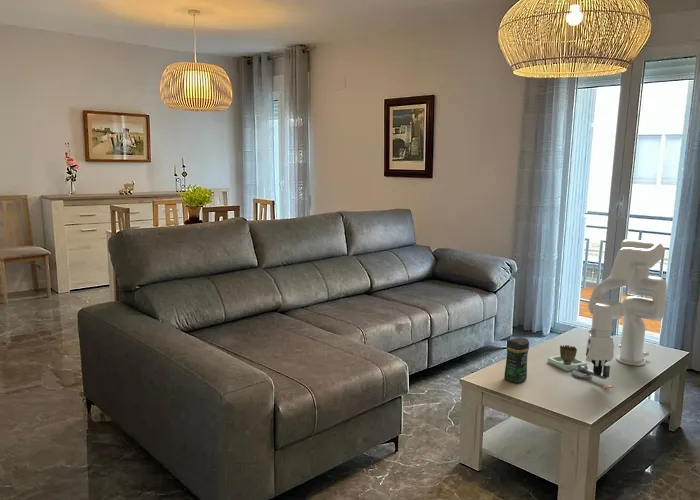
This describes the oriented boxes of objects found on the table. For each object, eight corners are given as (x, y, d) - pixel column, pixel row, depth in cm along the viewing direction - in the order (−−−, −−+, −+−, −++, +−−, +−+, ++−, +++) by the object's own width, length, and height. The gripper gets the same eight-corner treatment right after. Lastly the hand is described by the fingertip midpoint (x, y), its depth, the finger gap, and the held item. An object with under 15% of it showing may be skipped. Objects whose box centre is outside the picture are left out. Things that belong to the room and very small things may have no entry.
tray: (566, 359, 260) (567, 354, 260) (586, 368, 249) (587, 362, 249) (547, 362, 255) (547, 357, 255) (566, 371, 244) (567, 366, 244)
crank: (575, 369, 240) (576, 357, 239) (581, 368, 242) (582, 355, 242) (605, 380, 228) (606, 367, 227) (611, 378, 231) (612, 365, 230)
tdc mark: (610, 385, 229) (610, 385, 229) (612, 386, 228) (612, 386, 228) (601, 387, 227) (601, 386, 227) (604, 388, 226) (604, 387, 226)
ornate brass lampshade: (577, 367, 248) (578, 350, 247) (560, 366, 249) (561, 349, 248) (573, 361, 255) (575, 345, 254) (557, 360, 257) (558, 344, 255)
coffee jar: (517, 385, 228) (520, 343, 225) (501, 379, 234) (503, 338, 231) (530, 379, 234) (532, 338, 232) (514, 374, 240) (516, 334, 238)
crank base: (568, 373, 242) (568, 369, 242) (581, 371, 245) (582, 366, 245) (582, 380, 235) (582, 375, 235) (595, 377, 238) (596, 373, 238)
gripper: (588, 335, 222) (584, 378, 225) (623, 335, 223) (619, 377, 226) (579, 330, 229) (575, 371, 232) (613, 329, 230) (609, 370, 233)
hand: (597, 374), depth 229 cm, fingers closed
